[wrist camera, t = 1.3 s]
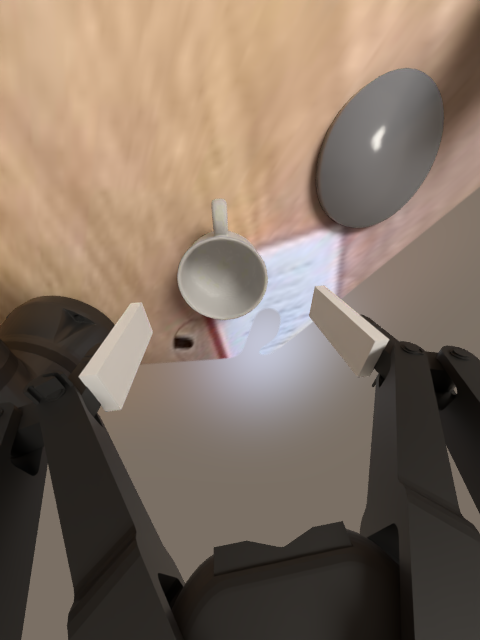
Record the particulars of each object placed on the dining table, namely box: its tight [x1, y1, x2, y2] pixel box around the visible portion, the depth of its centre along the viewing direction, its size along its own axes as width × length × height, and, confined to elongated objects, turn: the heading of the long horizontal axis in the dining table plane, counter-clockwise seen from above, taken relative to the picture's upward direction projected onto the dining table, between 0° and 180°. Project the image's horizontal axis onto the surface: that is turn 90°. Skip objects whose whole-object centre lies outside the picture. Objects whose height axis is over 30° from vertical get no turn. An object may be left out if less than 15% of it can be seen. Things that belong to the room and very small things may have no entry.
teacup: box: [177, 199, 268, 320], centre depth 25 cm, size 14×11×8 cm
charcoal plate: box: [316, 68, 444, 228], centre depth 24 cm, size 15×15×2 cm
